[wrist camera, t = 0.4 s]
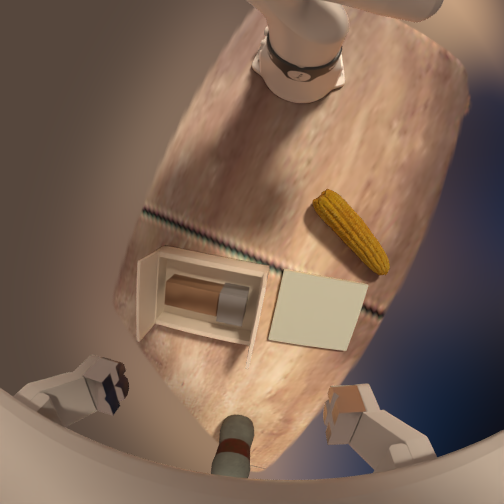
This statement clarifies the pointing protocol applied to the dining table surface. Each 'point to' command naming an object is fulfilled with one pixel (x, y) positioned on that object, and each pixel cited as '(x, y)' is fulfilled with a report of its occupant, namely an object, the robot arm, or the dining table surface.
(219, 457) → the bottle
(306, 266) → the dining table surface
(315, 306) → the board
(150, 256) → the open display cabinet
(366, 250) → the food
